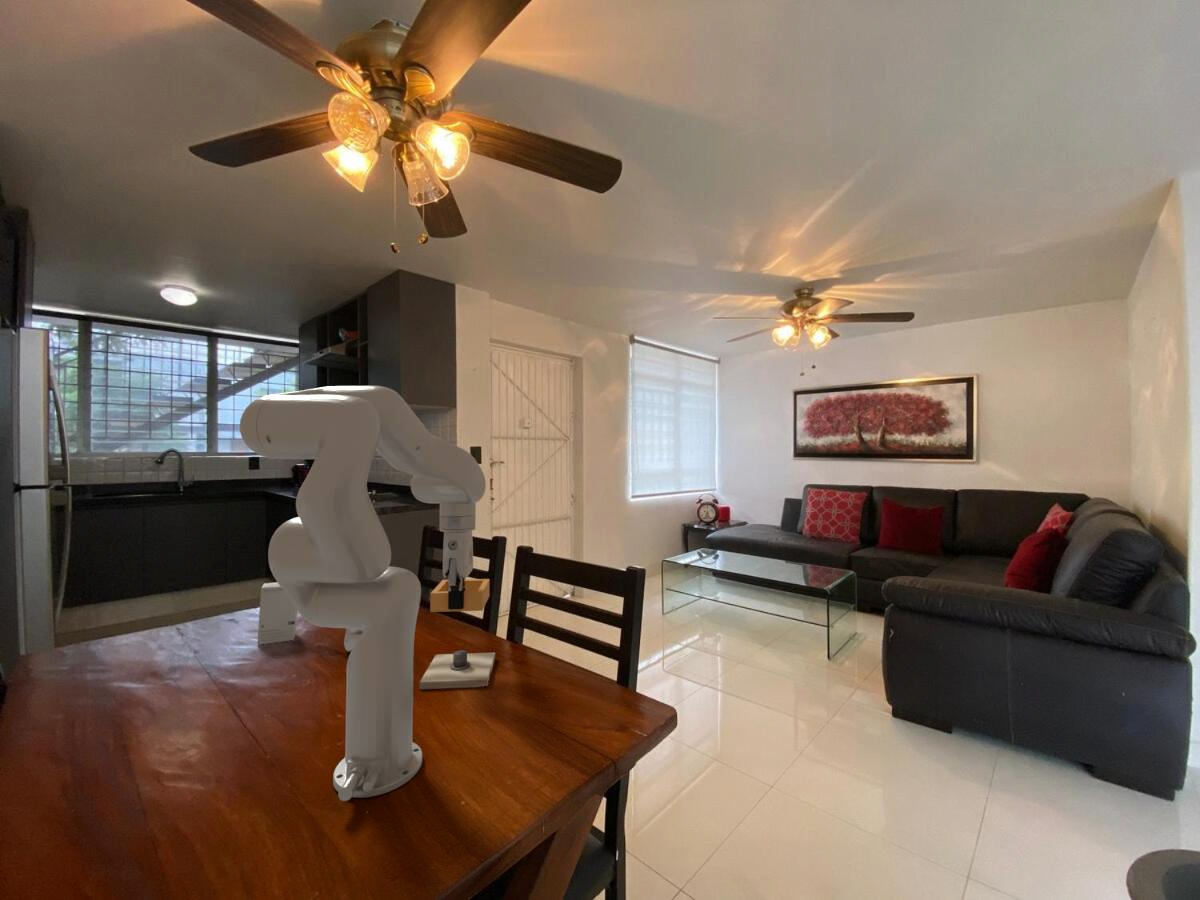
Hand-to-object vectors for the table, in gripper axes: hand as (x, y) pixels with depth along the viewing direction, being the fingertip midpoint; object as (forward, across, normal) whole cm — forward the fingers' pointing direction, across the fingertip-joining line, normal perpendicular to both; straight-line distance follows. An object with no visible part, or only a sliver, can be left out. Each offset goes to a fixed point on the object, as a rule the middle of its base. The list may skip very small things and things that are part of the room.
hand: (456, 607), depth 103 cm
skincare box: (+17, +29, +52) cm, 62 cm away
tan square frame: (+1, +5, 0) cm, 5 cm away
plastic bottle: (+17, +20, +28) cm, 38 cm away
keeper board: (+16, +5, 0) cm, 17 cm away
